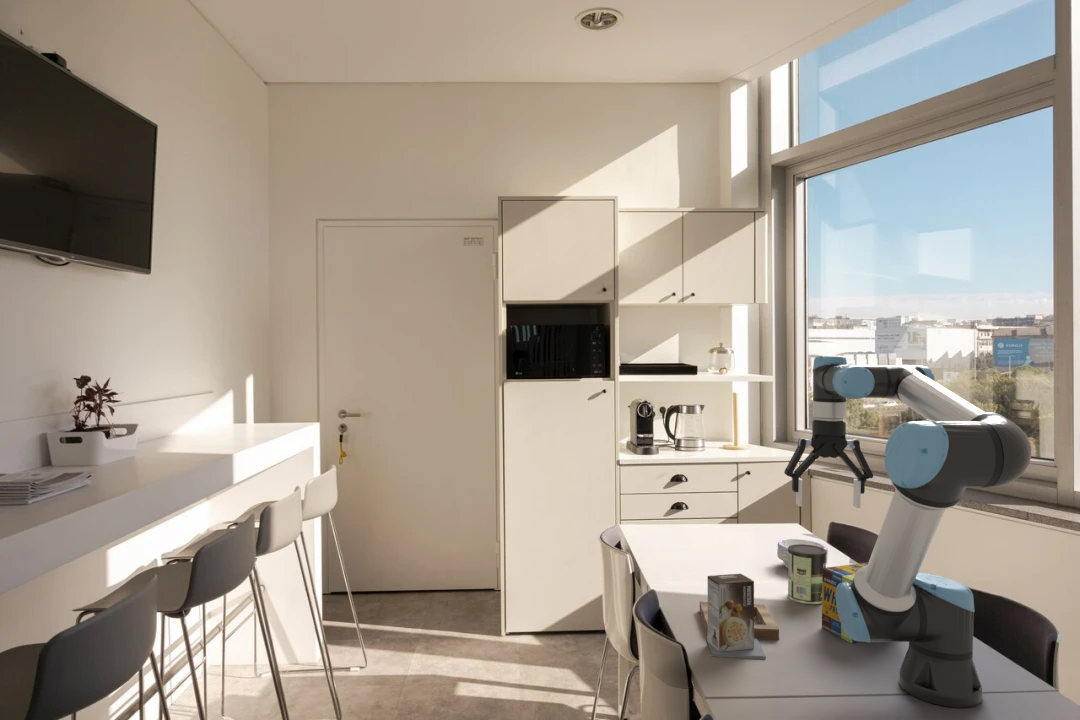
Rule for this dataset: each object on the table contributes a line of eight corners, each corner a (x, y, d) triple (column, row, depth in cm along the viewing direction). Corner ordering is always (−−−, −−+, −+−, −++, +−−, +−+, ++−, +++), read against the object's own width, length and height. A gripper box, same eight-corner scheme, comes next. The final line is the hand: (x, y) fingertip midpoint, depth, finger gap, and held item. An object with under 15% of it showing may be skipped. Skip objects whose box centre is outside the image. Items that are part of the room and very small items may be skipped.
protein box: (820, 628, 181) (821, 567, 181) (867, 620, 187) (868, 561, 187) (851, 644, 172) (852, 580, 171) (900, 635, 177) (901, 573, 177)
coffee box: (741, 638, 173) (742, 572, 173) (754, 649, 167) (755, 581, 166) (706, 641, 171) (707, 575, 171) (718, 652, 165) (719, 583, 164)
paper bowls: (838, 572, 226) (838, 547, 226) (800, 578, 220) (800, 552, 220) (803, 559, 240) (804, 535, 240) (767, 564, 234) (767, 540, 234)
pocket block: (778, 639, 174) (779, 629, 174) (707, 636, 176) (708, 626, 176) (764, 613, 191) (764, 604, 191) (699, 610, 193) (699, 601, 193)
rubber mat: (765, 659, 163) (765, 656, 163) (712, 656, 164) (712, 653, 164) (757, 641, 173) (757, 638, 173) (706, 638, 174) (706, 636, 174)
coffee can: (822, 593, 207) (822, 545, 207) (829, 606, 197) (829, 555, 196) (784, 590, 209) (785, 542, 209) (789, 603, 199) (790, 552, 199)
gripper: (876, 418, 176) (875, 504, 176) (772, 416, 178) (771, 501, 179) (888, 421, 168) (887, 511, 169) (779, 419, 171) (778, 508, 171)
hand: (827, 506), depth 174 cm, fingers open, 13 cm apart
